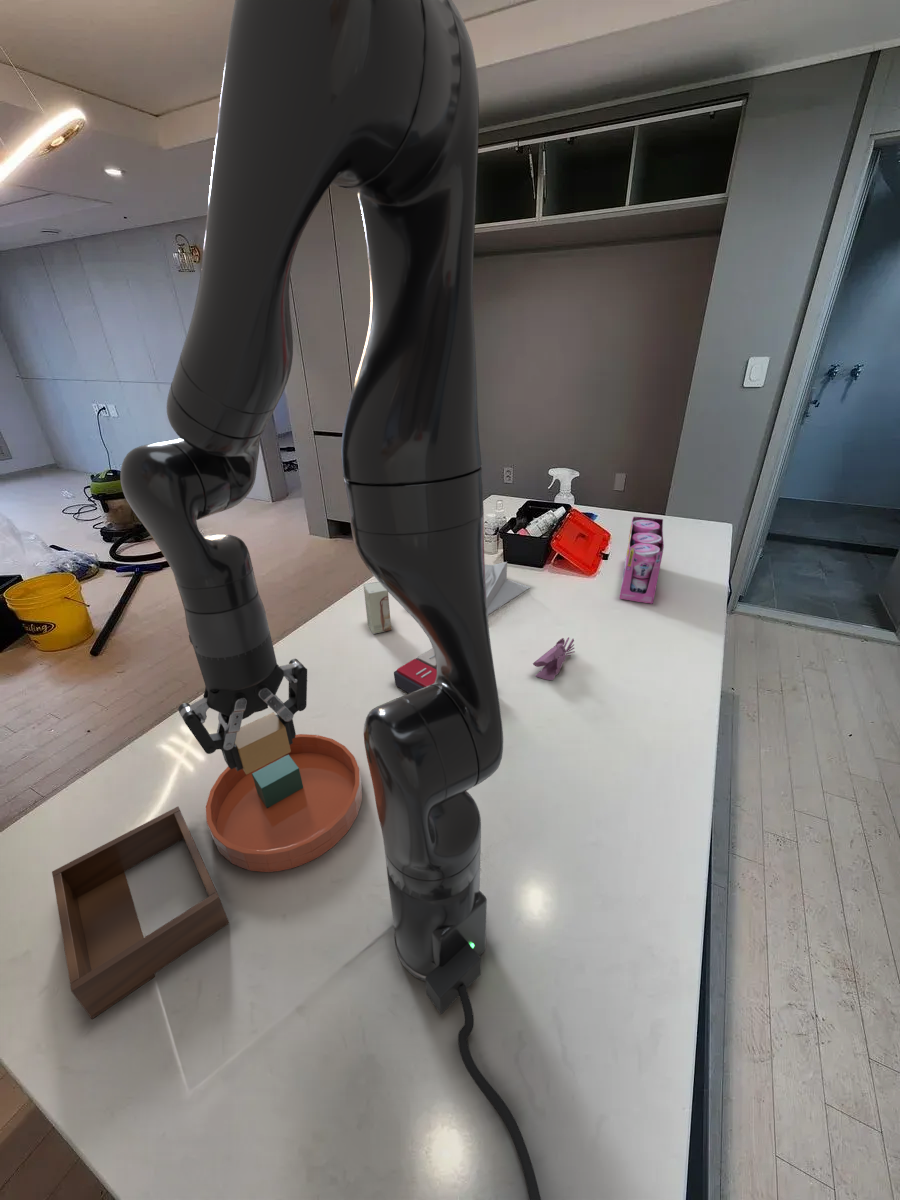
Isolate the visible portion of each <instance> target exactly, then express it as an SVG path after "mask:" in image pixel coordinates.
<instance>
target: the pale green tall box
mask: <svg viewBox="0 0 900 1200" xmlns="http://www.w3.org/2000/svg"><path fill="white" fill-rule="evenodd" d="M363 593H364V603H365V611H366V622H367V626H368V628H369V629H370V631H371V633H372V634H373V635H375V634H380V633H384V632H389V631H392V621H391V611H390V597H389V592H388V591H387V590H386V589H385V588H384V587H383V586H382V585H381V583H380V582H379V581H375V582H369V583H364V584H363Z"/></svg>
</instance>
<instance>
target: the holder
mask: <svg viewBox="0 0 900 1200" xmlns="http://www.w3.org/2000/svg"><path fill="white" fill-rule="evenodd" d="M182 840H184V842H185V844H186V847H187V849H188V851H189V854H190V857H191V858H192V859H191V860H192V861H193V862H194V866H195V868H196V870H197V872H198V875H199V878H200V880H201V882H202V884H203V887H204V889H205V891H206V893H207V895H208V897H206V898H204V899H203V900H201V901H199V902H198V903H197V904H195V905H193V906H192V907H190V908H189V909H187V910H185V911H184V912H183V913H181V914H179V915H177V916H176V917H174V918H172V919H171V920H170V921H168V922H167V923H165V924H163V925H161V926H160V927H158V928H157V929H155V930H153V931H152V932H150V933H149V934H147V935H146V936H145V935H144V933H143V930H142V926H141V923H140V919H139V917H138V913H137V910H136V907H135V903H134V899H133V896H132V893H131V889H130V886H129V883H128V879H127V876H126V873H125V872H127V871H128V870H130V869H132V868H133V867H136V866H137V865H139V864H141V863H143V862H144V861H146V860H148V859H150V858H152V857H153V856H155V855H157V854H159V853H161V852H162V851H164V850H166V849H168V848H169V847H172V846H173V845H175V844H177V843H179V842H180V841H182ZM51 875H52V880H53V881H52V882H53V886H54V887H53V888H54V893H55V900H56V905H57V912H58V919H59V923H60V931H61V936H62V942H63V949H64V955H65V960H66V967H67V973H68V979H69V986H70V992H71V993H72V994H73V996H74V997H75V998H76V1000H77V1001H78V1002H79V1003H80V1005H81V1007H82V1008H83V1009H84V1011H86V1013H87V1015H88V1016H89V1017H90V1019H92V1020H93V1019H95V1018H96V1017H97V1016H99V1015H100V1014H102V1013H104V1012H105V1011H106V1010H108V1009H110V1008H111V1007H112V1006H114V1005H116V1004H117V1003H119V1002H120V1001H122V1000H123V999H124V998H127V996H129V995H130V994H131V993H133V992H134V991H136V990H138V989H139V988H141V987H142V986H143V985H145V984H146V983H148V982H150V981H151V980H152V979H153V978H155V977H156V973H158V972H159V971H160V970H162V969H164V968H165V967H166V966H168V965H169V964H171V963H172V962H174V961H175V960H177V959H178V958H180V957H181V956H183V955H184V954H186V953H187V952H188V951H190V950H191V949H193V948H194V947H196V946H197V945H199V944H200V943H202V942H204V941H205V940H207V939H208V938H209V937H211V936H212V935H214V934H216V933H217V932H218V931H220V930H221V929H223V928H224V927H226V926H227V925H228V924H230V920H229V919H228V916H227V913H226V911H225V908H224V906H223V903H222V900H221V898H220V895H219V893H218V891H217V889H216V887H215V885H214V883H213V879H212V878H211V876H210V874H209V871H208V869H207V867H206V865H205V862H204V861H203V858H202V856H201V853H200V851H199V849H198V847H197V845H196V842H195V840H194V838H193V835H192V834H191V831H190V829H189V827H188V825H187V822H186V820H185V817H184V815H183V813H182V811H181V809H180V807H179V806H176V807H174V808H172V809H169V810H168V811H166V812H164V813H162V814H160V815H158V816H157V817H154V818H153V819H151V820H149V821H146V822H145V823H143V824H141V825H139V826H137V827H135V828H133V829H132V830H129V831H127V832H126V833H124V834H122V835H120V836H118V837H116V838H114V839H112V840H110V841H108V842H106V843H104V844H102V845H101V846H99V847H97V848H95V849H93V850H90V851H89V852H87V853H85V854H83V855H80V856H79V857H77V858H76V859H73V860H71V861H70V862H67V863H66V864H64V865H62V866H60V867H58V868H56V869H54V870H52V871H51Z"/></svg>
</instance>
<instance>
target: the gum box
mask: <svg viewBox="0 0 900 1200" xmlns="http://www.w3.org/2000/svg"><path fill="white" fill-rule="evenodd" d="M664 548H665V543H664V519H663V518H654V517H644V516H632V519H631V524H630V529H629V534H628V540H627V545H626V553H625V558H624V564H623V571H622V580H621V586H620V592H619V593H620V594H619V599H620V600H625V601H631V602H639V603H645V604H651V605H652V604H654V600H655V594H656V591H657V590H656V589H657V585H658V579H659V573H660V569H661V565H662V560H663V553H664Z"/></svg>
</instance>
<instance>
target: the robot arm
mask: <svg viewBox="0 0 900 1200" xmlns="http://www.w3.org/2000/svg"><path fill="white" fill-rule="evenodd" d="M471 39H472V38H471V36H470V34H469V31H468V28H467V26H466V24H465V22H464V19H463V16H462V14H461V12H460V11H459V9H458V7H457V5H456V4H455V3H454V1H453V0H234V4H233V9H232V15H231V20H230V27H229V31H228V39H227V45H226V54H225V61H224V68H223V69H224V70H223V77H222V83H221V84H222V85H221V86H222V87H221V92H220V93H221V94H220V102H219V110H218V117H217V127H216V136H215V145H214V151H213V159H212V167H211V176H210V185H209V193H208V205H207V215H206V222H205V232H204V243H203V250H202V252H203V253H202V260H201V269H200V275H199V281H198V282H199V283H198V286H197V294H196V298H195V302H194V306H193V307H194V308H193V311H192V312H193V313H192V316H191V320H190V323H189V326H188V330H187V334H186V336H185V340H184V342H183V346H182V348H181V352H180V355H179V358H178V361H177V365H176V368H175V371H174V373H173V377H172V381H171V383H170V387H169V390H168V394H167V399H166V415H167V420H168V422H169V424H170V427H171V428H172V430H173V431H174V432H175V434H176V435H177V436H178V437H177V438H173V439H168V440H164V441H157V442H153V443H148V444H143V445H139V446H137V447H135V448H132V449H131V450H130V451H129V452H128V453H127V454H126V455H125V457H124V458H123V460H122V463H121V466H120V467H121V468H120V472H119V473H120V474H119V476H120V485H121V489H122V490H121V491H122V493H123V495H124V498H125V500H126V501H127V503H128V505H129V506H130V509H131V510H132V511H133V513H134V514H135V515H136V517H137V519H138V520H139V522H141V523H142V525H143V526H144V528H145V529H146V531H147V533H148V534H149V536H151V538H152V540H153V541H154V543H155V544H156V546H157V547H158V549H159V551H160V552H161V554H162V556H163V557H164V559H165V561H166V562H167V563H168V565H169V567H170V569H171V572H172V573H173V577H174V580H175V583H176V586H177V590H178V593H179V596H180V599H181V603H182V605H183V610H184V616H185V624H186V629H187V632H188V638H189V642H190V644H191V645H192V648H193V651H194V654H195V658H196V659H197V663H198V667H199V670H200V674H201V676H202V679H203V682H204V686H205V687H204V688H205V689H204V692H203V697H202V698H200V699H199V700H197V701H195V702H194V703H192V704H190V703H187V702H184V703H181V704H179V706H178V709H177V710H178V712H179V714H180V716H181V718H182V720H183V722H184V723H185V725H186V727H187V728H188V729H189V731H190V732H191V734H192V735H193V736H194V738H195V739H196V741H197V742H198V744H199V746H200V747H201V748H202V750H203V751H204V753H206V754H207V755H211V754H214V753H215V752H216V751H218V750H221V753H222V756H223V759H224V762H225V763H226V765H227V767H229V768H230V769H233V768H236V770H237V771H239V770H241V769H243V766H242V762H241V759H240V756H239V752H238V749H237V746H236V744H235V740H236V735H237V732H239V731H240V727H242V726H241V725H242V722H243V720H245V719H247V718H249V717H250V716H252V715H253V714H255V713H258V712H263V711H265V710H267V709H269V708H270V709H271V710H272V711H273V712H274V713H275V715H276V716H277V717H278V718H279V720H280V721H281V722H282V724H283V725H284V726H285V728H286V732H287V736H288V741H289V745H291V744H293V741H292V739H293V738H295V735H297V734H296V728H295V724H294V715H295V714H296V713H297V712H303V711H304V710H305V709H306V708H307V704H308V703H307V702H308V701H307V699H308V668H306V667H305V666H304V664H302V662H301V661H299V659H297V658H292V659H291V660H290V661H289V662H288V664H285V665H280V666H279V664H278V663H277V662H278V661H277V657H276V652H275V648H274V643H273V640H272V635H271V631H270V625H269V622H268V617H267V612H266V609H265V606H264V605H265V604H264V603H263V600H262V598H261V596H260V592H259V589H258V584H257V581H256V580H257V579H256V575H255V571H254V566H253V562H252V558H251V554H250V551H249V548H248V546H247V545H246V543H245V541H243V540H242V539H241V538H240V537H239V536H236V535H232V534H227V533H213V534H202V533H201V531H200V530H199V527H198V522H197V521H198V520H202V519H205V518H207V517H210V516H213V515H215V514H220V513H221V512H225V511H227V510H230V509H232V508H235V507H236V506H238V505H239V504H240V503H241V502H243V501H244V500H245V499H246V497H247V496H248V495H249V494H250V492H252V489H253V487H254V486H255V483H256V478H257V470H258V462H259V456H260V447H261V446H260V443H261V437H262V434H263V433H264V430H265V428H266V427H267V426H268V424H269V422H270V419H271V417H272V415H273V414H274V411H275V410H276V407H277V406H278V404H279V402H280V400H281V397H282V396H283V394H284V391H285V388H286V386H287V384H288V381H289V378H290V375H291V371H292V365H293V357H294V335H293V323H292V315H291V314H292V313H291V302H290V285H291V284H290V282H291V272H292V265H293V261H294V256H295V254H296V250H297V247H298V245H299V242H300V239H301V237H302V235H303V232H304V231H305V229H306V227H307V225H308V224H309V221H310V219H311V218H312V216H313V214H314V212H315V210H316V208H317V207H318V205H319V203H320V201H321V200H322V198H323V197H324V195H325V193H326V192H327V191H328V189H329V187H330V186H331V185H332V186H335V187H337V188H339V189H343V190H346V191H349V192H351V193H354V194H357V197H358V201H359V206H360V210H361V214H362V215H361V216H362V221H363V227H364V232H365V240H366V253H367V259H368V270H369V280H370V312H369V313H370V314H369V321H368V329H367V334H366V338H365V343H364V348H363V351H362V355H361V358H360V361H359V365H358V368H357V371H356V374H355V375H356V376H355V379H354V381H353V385H352V389H351V392H350V397H349V400H348V403H347V409H346V414H345V417H344V423H343V428H342V436H341V444H340V460H341V470H342V477H343V478H344V479H343V482H344V490H345V496H346V503H347V510H348V516H349V521H350V522H349V523H350V528H351V535H352V540H353V543H354V547H355V549H356V551H357V554H358V555H359V557H360V559H361V560H362V562H363V564H364V566H365V567H366V568H367V569H368V571H369V572H370V573H371V575H372V576H373V577H374V578H375V579H376V580H377V582H380V583H381V585H382V586H383V587H384V588H385V589H386V590H387V591H388V594H390V596H392V598H393V599H394V600H395V601H397V603H398V604H399V605H400V606H401V607H402V608H403V609H404V610H405V611H406V612H407V613H408V614H409V615H410V616H411V618H412V619H413V620H414V621H415V622H416V623H417V625H418V626H419V627H420V628H421V630H422V631H423V632H424V634H425V635H426V637H427V638H428V640H429V641H430V645H431V648H433V651H434V655H435V660H436V667H437V676H436V680H435V682H434V684H431V685H429V686H427V687H424V688H422V689H419V690H417V691H414V692H412V693H406V694H405V695H402V696H399V697H397V698H395V699H392V700H389V701H386V702H384V703H382V704H379V705H378V706H376V707H373V708H372V709H370V711H369V712H368V713H367V715H366V717H365V720H364V723H363V743H364V751H365V755H366V760H367V763H368V769H369V773H370V778H371V783H372V787H373V788H372V789H373V793H374V800H375V806H376V812H377V818H378V820H379V821H378V822H379V825H380V829H381V834H382V841H383V849H384V856H385V864H386V873H387V874H386V875H387V881H388V890H389V899H390V905H391V913H392V915H391V916H392V922H393V930H394V945H395V950H396V954H397V956H398V959H399V961H400V963H401V965H402V966H403V967H404V969H405V970H406V971H407V972H408V973H410V974H411V975H412V976H413V977H415V978H417V979H419V980H420V981H423V982H425V989H426V996H427V997H428V998H429V1000H430V1001H431V1003H432V1005H434V1007H435V1009H436V1010H437V1011H438V1013H439V1014H440V1015H442V1014H444V1012H445V1011H446V1010H447V1009H448V1008H449V1007H450V1006H451V1005H452V1004H453V1003H454V1002H455V1001H456V1000H457V999H458V998H459V999H460V1003H461V1007H462V1011H463V1015H464V1024H463V1026H462V1027H461V1028H460V1030H459V1032H458V1035H457V1040H458V1041H457V1042H458V1047H459V1051H460V1052H459V1053H460V1055H461V1058H462V1060H463V1064H464V1065H465V1068H466V1070H467V1072H468V1074H469V1075H470V1076H471V1079H472V1080H473V1081H474V1082H475V1084H476V1085H477V1086H478V1088H479V1090H480V1091H481V1092H482V1093H483V1094H484V1096H485V1097H486V1098H487V1100H488V1101H489V1103H491V1105H492V1106H493V1107H494V1109H495V1110H496V1111H497V1113H498V1114H499V1116H500V1118H501V1119H502V1121H503V1122H504V1125H505V1126H506V1128H507V1129H508V1132H509V1135H510V1136H511V1137H510V1138H511V1139H512V1142H513V1144H514V1147H515V1149H516V1153H517V1155H518V1159H519V1162H520V1165H521V1168H522V1172H523V1175H524V1179H525V1183H526V1187H527V1191H528V1197H529V1200H542V1199H541V1194H540V1190H539V1185H538V1182H537V1177H536V1174H535V1171H534V1166H533V1162H532V1160H531V1157H530V1153H529V1151H528V1148H527V1145H526V1143H525V1140H524V1137H523V1134H522V1131H521V1130H520V1127H519V1125H518V1122H517V1121H516V1118H515V1117H514V1115H513V1114H512V1112H511V1110H510V1109H509V1108H508V1105H507V1104H506V1102H505V1101H504V1100H503V1098H502V1097H501V1096H500V1095H499V1093H498V1091H496V1090H495V1088H494V1087H493V1086H492V1085H491V1083H489V1081H488V1080H487V1079H486V1077H484V1075H483V1074H482V1072H481V1071H480V1070H479V1068H478V1066H477V1065H476V1063H475V1061H474V1059H473V1057H472V1054H471V1052H470V1046H469V1043H468V1037H469V1036H470V1035H471V1033H472V1032H473V1030H474V1025H475V1024H474V1023H475V1022H474V1021H475V1020H474V1019H475V1018H474V1010H473V1007H472V1002H471V999H470V997H469V993H468V990H467V989H468V988H469V987H470V986H471V985H472V984H473V983H474V982H475V981H476V980H477V979H478V978H479V976H481V974H482V973H481V971H482V969H481V967H482V966H481V965H482V958H481V955H482V954H483V953H484V952H486V940H487V939H486V938H487V937H486V935H487V907H488V906H487V904H488V899H487V897H486V896H485V895H484V893H483V892H482V891H481V854H482V853H481V851H482V848H481V847H482V846H481V845H482V821H481V820H482V817H481V813H480V810H479V807H478V805H477V803H476V801H475V799H474V798H473V795H471V794H470V793H469V792H468V790H470V789H472V788H474V787H476V786H478V785H479V784H481V783H483V782H485V781H486V780H488V779H489V778H490V777H492V776H493V774H494V773H496V772H497V770H498V769H499V767H500V766H501V762H502V759H503V753H504V727H503V720H502V713H501V711H502V710H501V705H500V704H501V703H500V699H499V692H498V691H499V690H498V685H497V678H496V673H495V672H496V671H495V666H494V657H493V651H492V650H493V649H492V642H491V635H490V626H489V625H490V624H489V615H488V612H487V597H486V581H485V565H486V563H485V562H486V561H485V527H484V525H485V514H484V513H485V512H484V510H485V509H484V508H485V507H484V488H483V467H482V465H483V464H482V455H481V453H482V452H481V444H480V432H479V415H478V413H479V412H478V410H479V409H478V380H477V356H476V355H477V353H476V352H477V350H476V336H475V335H476V334H475V333H476V332H475V317H474V255H475V233H476V232H475V231H476V210H477V209H476V208H477V207H476V206H477V188H478V187H477V186H478V162H479V134H480V132H479V131H480V130H479V129H480V92H479V90H480V89H479V77H478V69H477V63H476V58H475V57H476V56H475V51H474V46H473V43H472V40H471ZM284 678H285V679H286V681H288V699H286V701H282V699H280V698H279V696H277V692H278V690H279V688H280V686H281V683H282V682H283V680H284ZM209 709H211V710H214V711H215V712H217V713H218V716H217V718H218V725H217V730H216V732H214V733H209V731H208V729H207V728H206V726H205V725H204V724H205V723H206V720H207V711H208V710H209Z"/></svg>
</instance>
